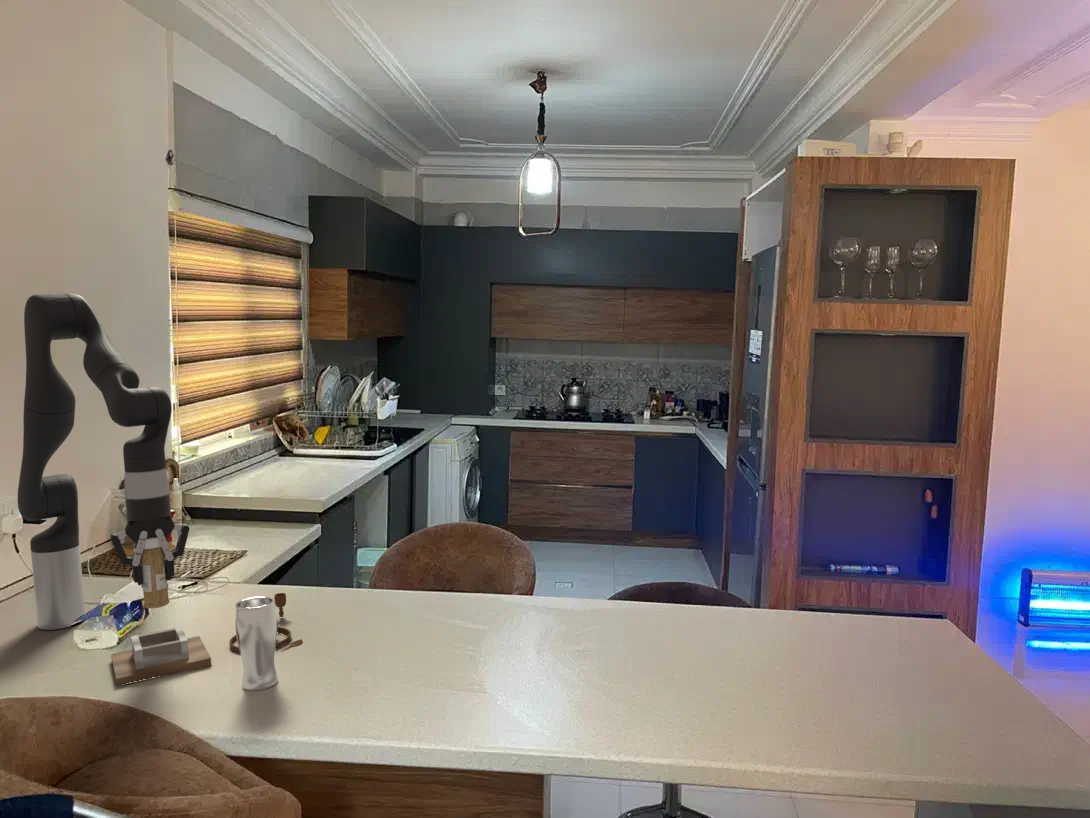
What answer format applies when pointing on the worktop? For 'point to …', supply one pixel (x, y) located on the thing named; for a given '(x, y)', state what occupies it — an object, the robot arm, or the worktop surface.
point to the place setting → (279, 602)
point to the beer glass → (257, 641)
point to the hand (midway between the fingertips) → (154, 581)
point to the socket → (159, 656)
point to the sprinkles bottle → (154, 574)
